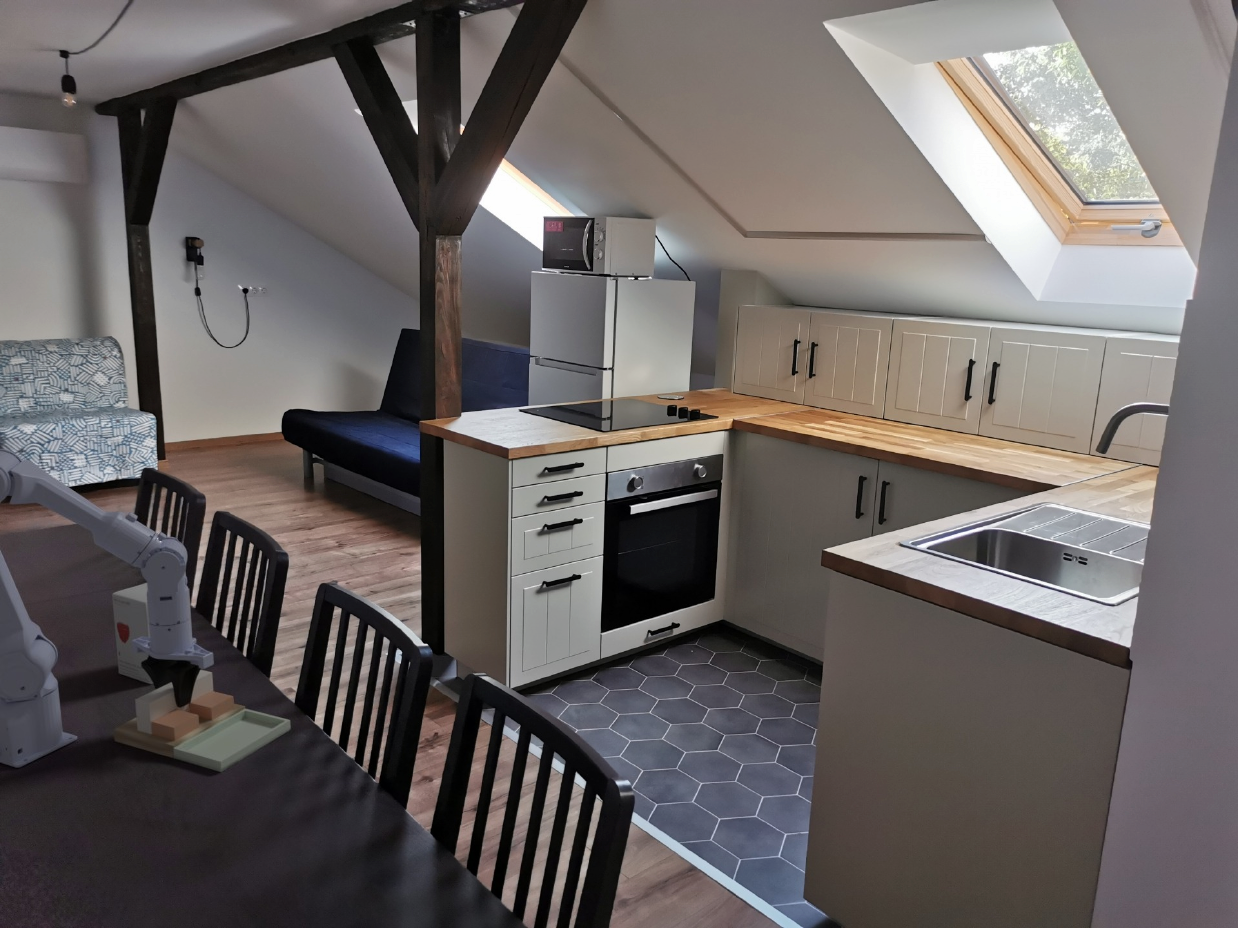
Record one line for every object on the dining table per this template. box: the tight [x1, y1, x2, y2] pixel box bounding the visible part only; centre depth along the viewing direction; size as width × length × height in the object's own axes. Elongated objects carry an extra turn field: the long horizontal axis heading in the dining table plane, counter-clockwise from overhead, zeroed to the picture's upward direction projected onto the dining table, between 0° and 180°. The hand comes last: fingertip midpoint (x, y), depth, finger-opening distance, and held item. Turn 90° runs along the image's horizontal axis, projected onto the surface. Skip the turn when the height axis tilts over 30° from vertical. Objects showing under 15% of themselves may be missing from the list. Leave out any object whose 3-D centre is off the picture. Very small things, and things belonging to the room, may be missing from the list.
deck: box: [113, 703, 246, 759], centre depth 145 cm, size 14×12×2 cm
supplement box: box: [111, 582, 193, 685], centre depth 165 cm, size 9×9×15 cm
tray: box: [173, 708, 292, 773], centre depth 141 cm, size 14×9×2 cm, turn 157°
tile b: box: [189, 690, 235, 720], centre depth 147 cm, size 4×4×2 cm
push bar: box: [134, 669, 214, 734], centre depth 145 cm, size 12×3×5 cm, turn 158°
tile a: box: [151, 709, 199, 740], centre depth 141 cm, size 4×4×2 cm
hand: (176, 702), depth 145 cm, fingers closed on push bar, 3 cm apart
